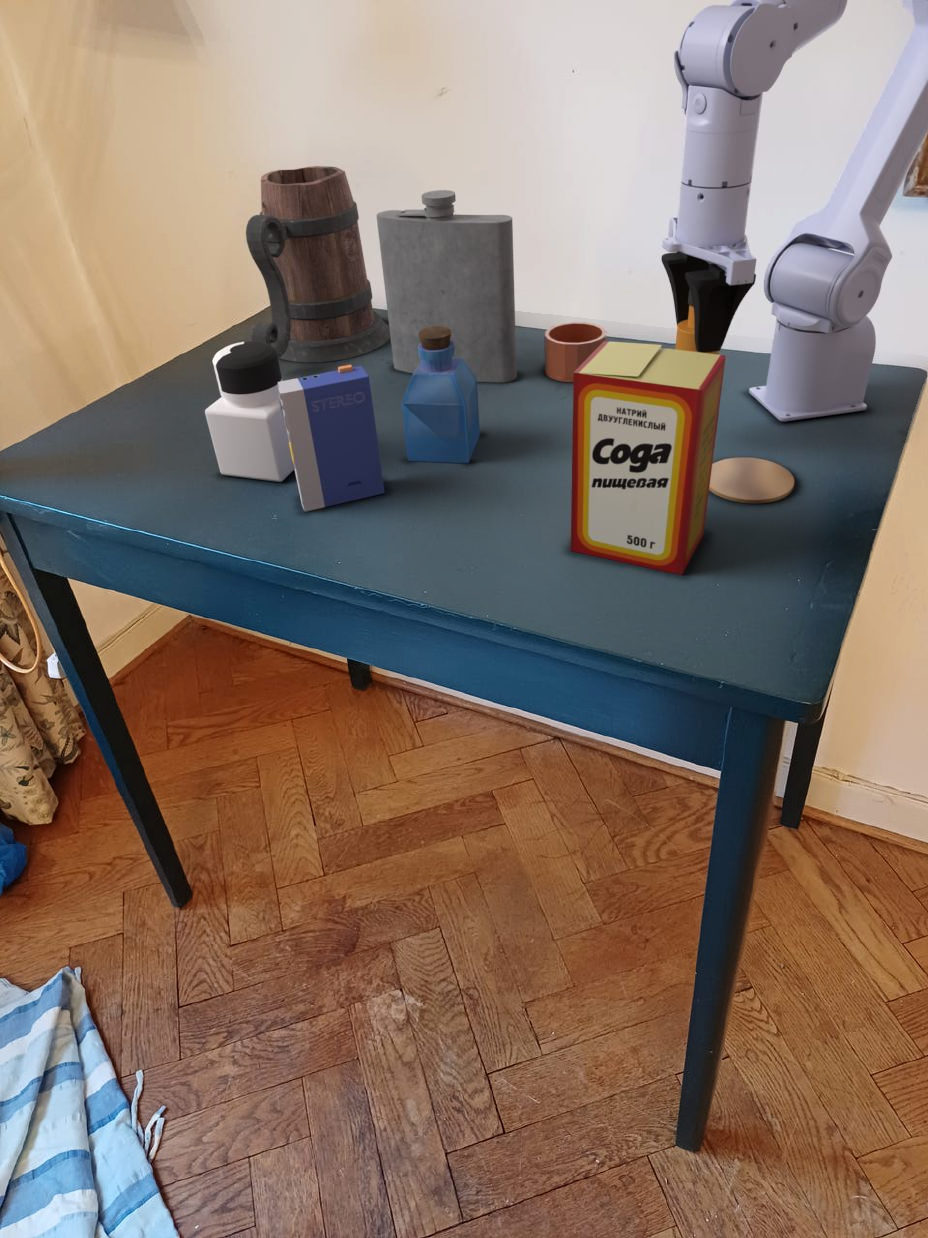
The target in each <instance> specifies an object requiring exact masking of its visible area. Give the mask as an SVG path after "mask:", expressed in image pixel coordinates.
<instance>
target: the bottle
mask: <svg viewBox="0 0 928 1238" xmlns="http://www.w3.org/2000/svg"><path fill="white" fill-rule="evenodd" d="M688 304H689V315H688V320H684V321H682V322H680V323H679V324H678V326H677V325H676V337H675V348H674V349H675V350H684V351H692V352H698V351H696V346H695V334H694V307H693V300H692V296H691V292H690V290H689V298H688ZM706 353H709V354H717V355H720V351H714V352H706Z"/></svg>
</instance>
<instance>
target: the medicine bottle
mask: <svg viewBox="0 0 928 1238" xmlns="http://www.w3.org/2000/svg"><path fill="white" fill-rule="evenodd" d="M212 365H213V369H214V373H215V377H216V382H217V385H218V390H219V394H220V396H221V397H219V398H218V399H217V400H215V401H214V402H213V403H212V404H210V405H208V407H207V408H206V409H204V415H205V418H206V422H207V426H208V430H209V433H210V437H211V441H212V446H213V450H214V452H215V457H216V461H217V464H218V469H219V472H220V474H221V475H222V476H227V477H235V478H244V479H252V480H261V481H267V482H268V481H269V482H276V483H277V482H278V483H282V482H284V481H285V479H286V478H287V477H288V476H289V475H290V474H291V473H293V472H294V471H295V469H294V464H293V459H292V455H291V450H290V446H289V439H288V434H287V429H286V427H284V424H283V419H282V414H281V410H280V405H279V400H278V399H280V396H279V390H278V388H279V386H278V382H281V381H283V376H282V371H281V367H280V362H279V358H278V356H277V351H276V349H274V348H273V347H272V346H271V345H269V344H266V343H261V342H255V341H249V340H248V341H241V342H237V343H236V342H235V343H232V344H229V345H227V346H225V347H223V348H222V349H220V350H219V351H217V352H216V353H215V354H214V356H213V358H212Z"/></svg>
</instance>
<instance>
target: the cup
mask: <svg viewBox="0 0 928 1238" xmlns="http://www.w3.org/2000/svg"><path fill="white" fill-rule="evenodd" d="M607 333H608V332H607V330H606V329H605V327H603V326H601V325H599V324H597V323H590V322H585V321H583V322H582V321H573V322H564V323H559V324H556V325H552V326H551V327H549V328H548V329H546V330H545V332H544V335H543V337H544V338H543V340H544V343H543V345H544V348H543V349H544V351H543V352H544V353H543V355H544V359H543V360H544V373H545V375H546V376H547V377H548V378H550V379H552V380H554V381H558V382H564V383H573V375H574V372H575V371H576V370H577V369H578V367H579V366H580V365H581V364H582V363H583V362H584V361H585V360H586V359H587V358H588V357H589V356H590V355H591V354H592V353H593V352H594V351H595V350H596V349H597V348H598V347H599V346H600V345H601V344H602V343H603V342H604V341H607Z"/></svg>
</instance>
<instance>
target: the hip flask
mask: <svg viewBox="0 0 928 1238" xmlns="http://www.w3.org/2000/svg"><path fill="white" fill-rule="evenodd" d="M455 202H456V192H455V191H453V190H447V189H440V190H431V191H427V192H424V193H422V194H421V204H422V205H424V206H425V207H424V208H423V209H404V210H402V209H401V210H399V209H390V210H384V211H381V212H378V213H377V214H376V223H377V233H378V241H379V250H380V258H381V266H382V276H383V283H384V292H385V300H386V301H385V302H386V312H387V319H388V325H389V328H390V344H391V353H392V354H391V355H392V361H393V368H394V369H395V370H397V371H399V372H403V373H408V374H413V373H414V371H415V370H416V368H417V366H418V365H419V363H420V362H421V360H422V359H420V357H419V353H418V345H419V344H420V343H421V341H420V338H419V335H418V333H419V331H420V330H422V329H425V328H428V327H434V326H441V327H447V328H449V329H451V330H452V331H451V339H450V340H451V341H453V342H454V350H455V354H454V356H453V357H452V358H454V359H463V360H464V362H465V363H466V365H467V366H468V367H469V369H470V370H471V371H472V373H473V374H474V376H475V377H476V378H477V383H478V382H479V383H500V384H501V383H510V382H512V381H514V380H516V379H517V377H518V375H517V371H518V370H517V340H516V339H517V338H516V304H515V303H516V302H515V301H516V300H515V265H514V262H515V261H514V231H513V230H514V228H513V227H514V226H513V217H512V216H511V215H507V214H456V213H455V205H454V203H455ZM454 213H455V214H454Z"/></svg>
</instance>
